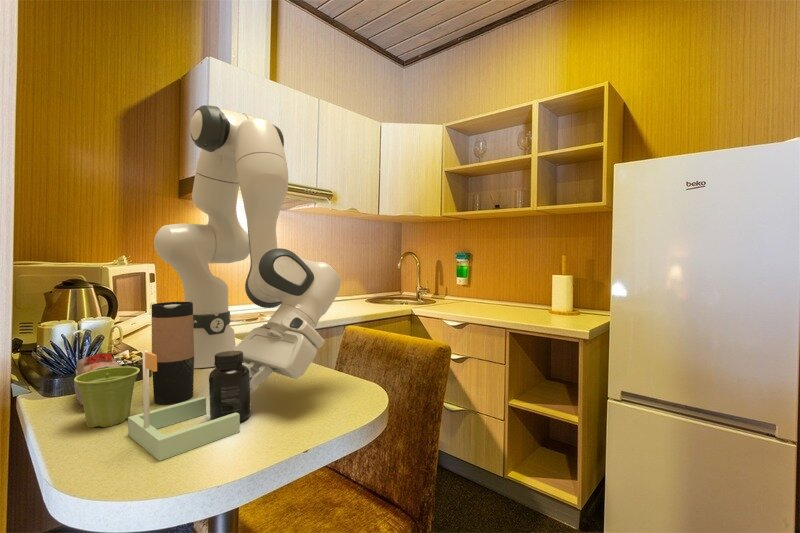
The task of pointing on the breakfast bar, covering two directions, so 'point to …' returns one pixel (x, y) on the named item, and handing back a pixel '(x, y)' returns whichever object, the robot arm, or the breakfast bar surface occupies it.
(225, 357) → the supplement bottle
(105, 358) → the food item
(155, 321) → the travel mug
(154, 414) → the u-shaped flag stand
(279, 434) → the breakfast bar surface
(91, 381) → the plant pot
